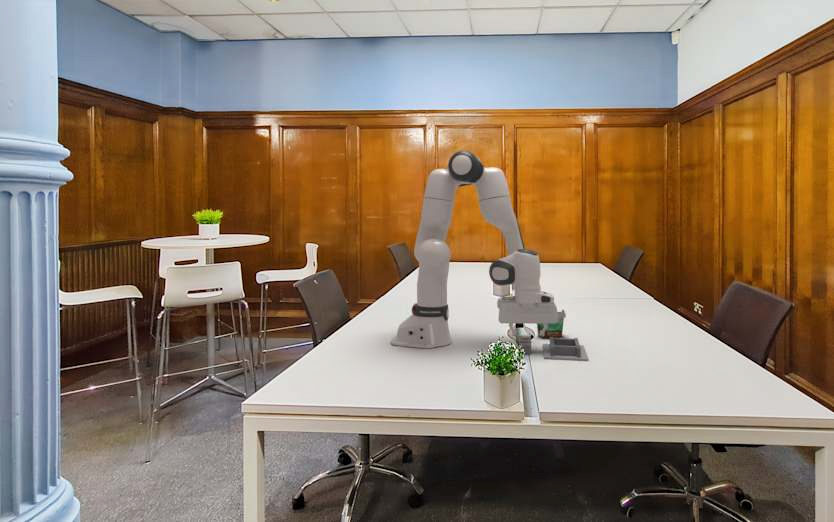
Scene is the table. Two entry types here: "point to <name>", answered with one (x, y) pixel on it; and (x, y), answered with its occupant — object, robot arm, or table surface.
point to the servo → (525, 343)
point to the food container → (553, 327)
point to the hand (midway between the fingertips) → (528, 335)
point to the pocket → (564, 350)
